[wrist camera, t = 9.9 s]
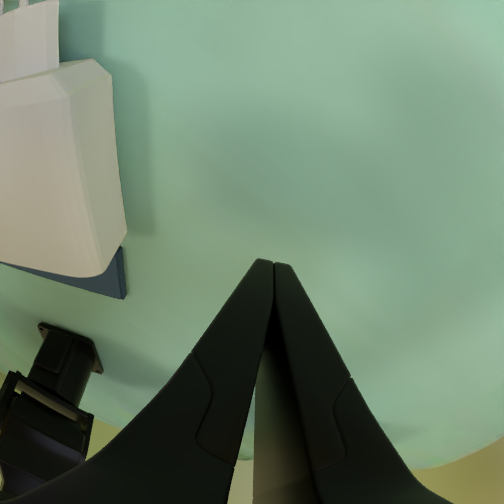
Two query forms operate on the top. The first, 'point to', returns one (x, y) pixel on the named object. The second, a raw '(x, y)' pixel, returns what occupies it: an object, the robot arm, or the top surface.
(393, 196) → the top surface
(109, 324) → the top surface
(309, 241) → the top surface
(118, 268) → the dark blue flat bar
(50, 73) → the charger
